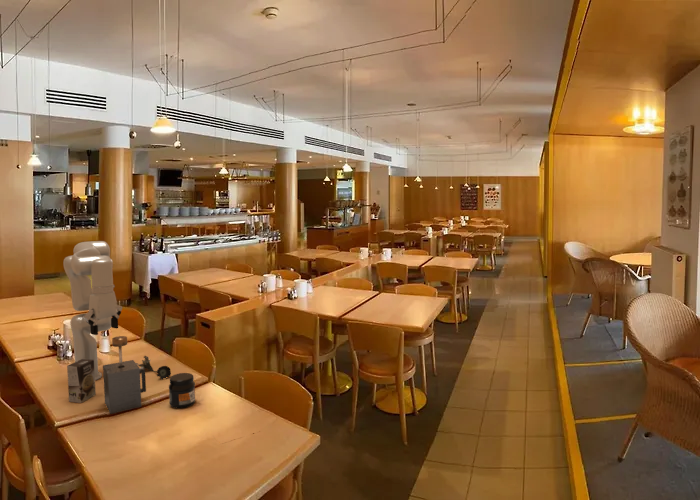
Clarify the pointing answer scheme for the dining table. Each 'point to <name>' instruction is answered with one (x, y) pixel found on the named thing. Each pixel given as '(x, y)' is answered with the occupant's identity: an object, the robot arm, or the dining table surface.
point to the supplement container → (182, 390)
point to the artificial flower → (161, 371)
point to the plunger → (119, 343)
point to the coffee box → (81, 380)
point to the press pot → (123, 386)
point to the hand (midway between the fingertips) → (104, 331)
